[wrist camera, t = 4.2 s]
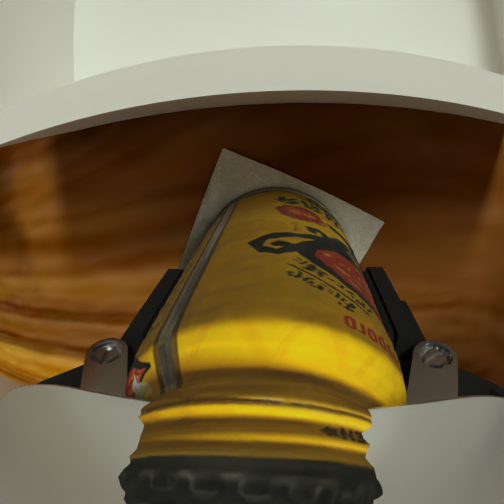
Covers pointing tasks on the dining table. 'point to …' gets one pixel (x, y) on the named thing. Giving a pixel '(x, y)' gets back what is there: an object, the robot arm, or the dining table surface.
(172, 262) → the dining table surface
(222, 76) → the bin
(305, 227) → the condiment
